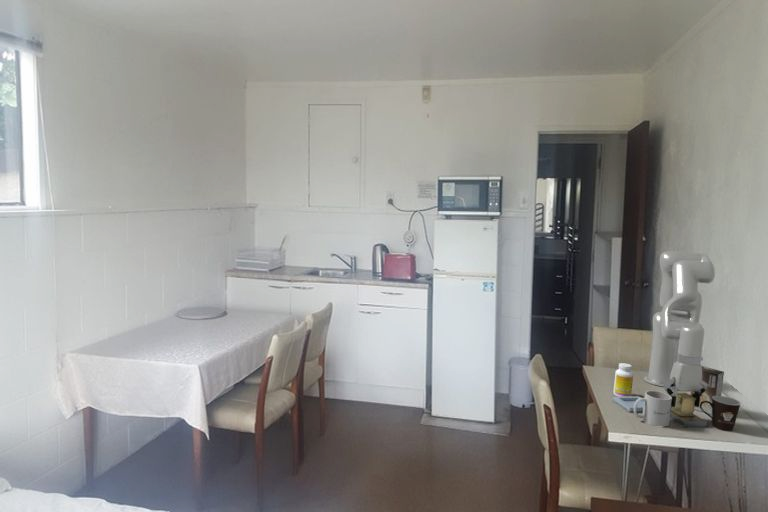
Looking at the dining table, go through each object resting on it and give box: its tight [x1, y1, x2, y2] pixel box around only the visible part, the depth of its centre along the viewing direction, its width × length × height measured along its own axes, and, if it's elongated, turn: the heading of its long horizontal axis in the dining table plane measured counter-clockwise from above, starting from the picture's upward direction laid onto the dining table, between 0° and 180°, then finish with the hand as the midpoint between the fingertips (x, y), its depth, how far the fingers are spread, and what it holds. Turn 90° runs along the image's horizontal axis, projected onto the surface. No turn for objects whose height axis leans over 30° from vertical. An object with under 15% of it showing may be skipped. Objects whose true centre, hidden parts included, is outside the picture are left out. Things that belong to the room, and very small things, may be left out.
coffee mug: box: [700, 395, 741, 432], centre depth 195 cm, size 12×9×10 cm
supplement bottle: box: [612, 362, 634, 397], centre depth 220 cm, size 7×7×13 cm
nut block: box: [671, 392, 696, 418], centre depth 199 cm, size 5×5×9 cm
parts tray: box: [612, 395, 644, 413], centre depth 209 cm, size 11×11×2 cm
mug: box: [633, 390, 672, 428], centre depth 196 cm, size 12×9×10 cm
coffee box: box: [689, 365, 725, 416], centre depth 209 cm, size 9×6×16 cm
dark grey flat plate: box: [669, 406, 708, 428], centre depth 203 cm, size 9×22×2 cm, turn 9°
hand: (683, 405), depth 199 cm, fingers open, 9 cm apart
